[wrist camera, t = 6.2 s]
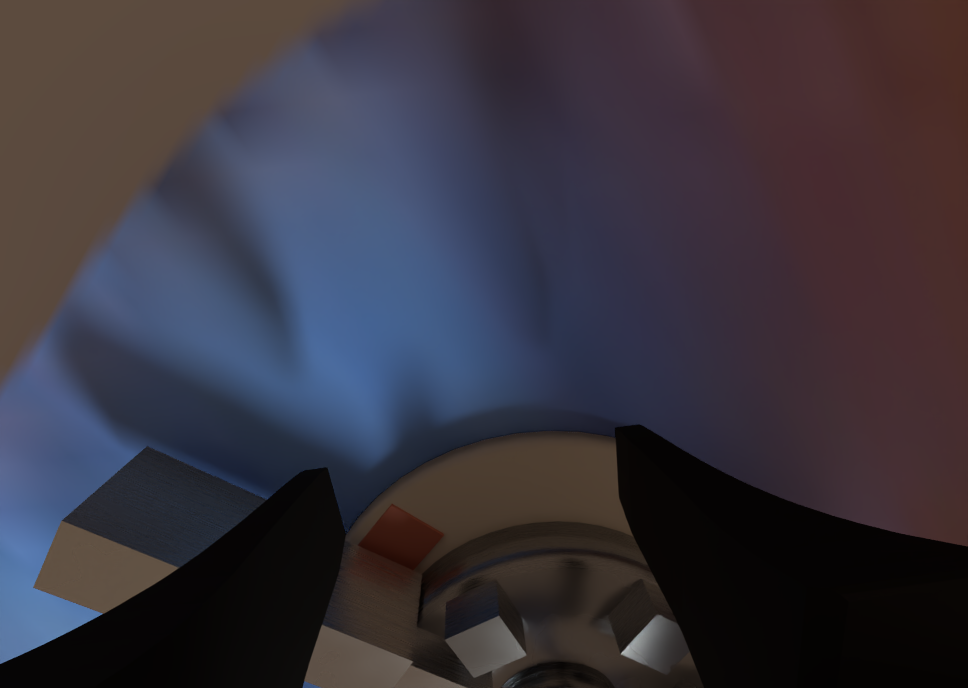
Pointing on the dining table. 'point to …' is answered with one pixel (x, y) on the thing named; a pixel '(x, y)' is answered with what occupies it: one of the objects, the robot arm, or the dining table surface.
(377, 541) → the flange plate
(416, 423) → the dining table surface
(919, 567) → the robot arm
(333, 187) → the dining table surface
